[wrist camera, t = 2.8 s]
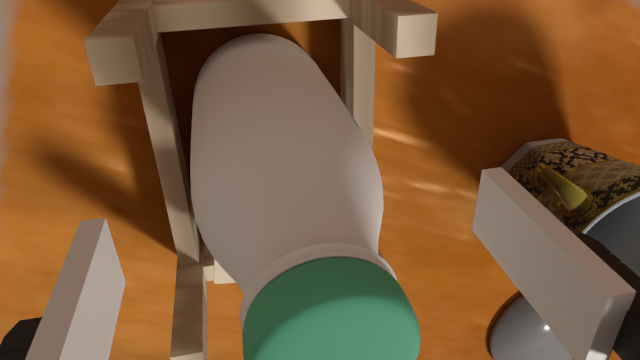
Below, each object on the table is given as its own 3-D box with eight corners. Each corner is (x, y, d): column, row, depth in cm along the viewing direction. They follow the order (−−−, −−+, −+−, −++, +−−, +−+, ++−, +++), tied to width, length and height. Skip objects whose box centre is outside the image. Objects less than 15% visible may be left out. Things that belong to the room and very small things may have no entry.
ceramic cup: (616, 164, 38) (737, 240, 29) (519, 250, 40) (604, 343, 32) (531, 59, 32) (651, 116, 23) (422, 168, 34) (495, 256, 26)
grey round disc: (480, 379, 48) (483, 384, 47) (499, 288, 42) (503, 292, 41) (588, 356, 50) (592, 361, 49) (620, 266, 44) (625, 270, 43)
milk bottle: (171, 122, 29) (125, 439, 12) (230, 4, 26) (280, 188, 9) (283, 171, 32) (375, 476, 15) (345, 70, 29) (542, 298, 12)
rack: (183, 258, 34) (176, 378, 25) (124, -6, 25) (83, 40, 16) (360, 231, 36) (409, 334, 27) (364, -22, 27) (438, 13, 18)
